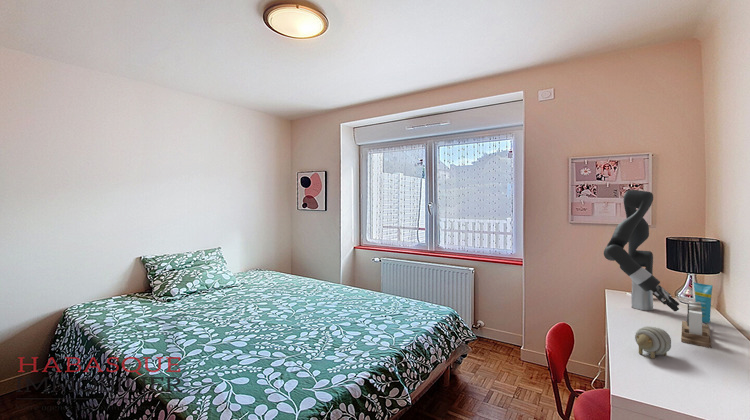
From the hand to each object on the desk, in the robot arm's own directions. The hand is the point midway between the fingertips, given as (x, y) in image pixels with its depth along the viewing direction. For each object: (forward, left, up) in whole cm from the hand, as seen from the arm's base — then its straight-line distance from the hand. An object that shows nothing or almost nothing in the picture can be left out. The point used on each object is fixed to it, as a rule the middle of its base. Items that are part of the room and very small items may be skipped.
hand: (677, 307), depth 142 cm
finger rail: (+6, +8, -13) cm, 16 cm away
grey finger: (+6, 0, -12) cm, 13 cm away
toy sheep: (-6, -29, -13) cm, 33 cm away
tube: (+9, +33, -13) cm, 36 cm away
